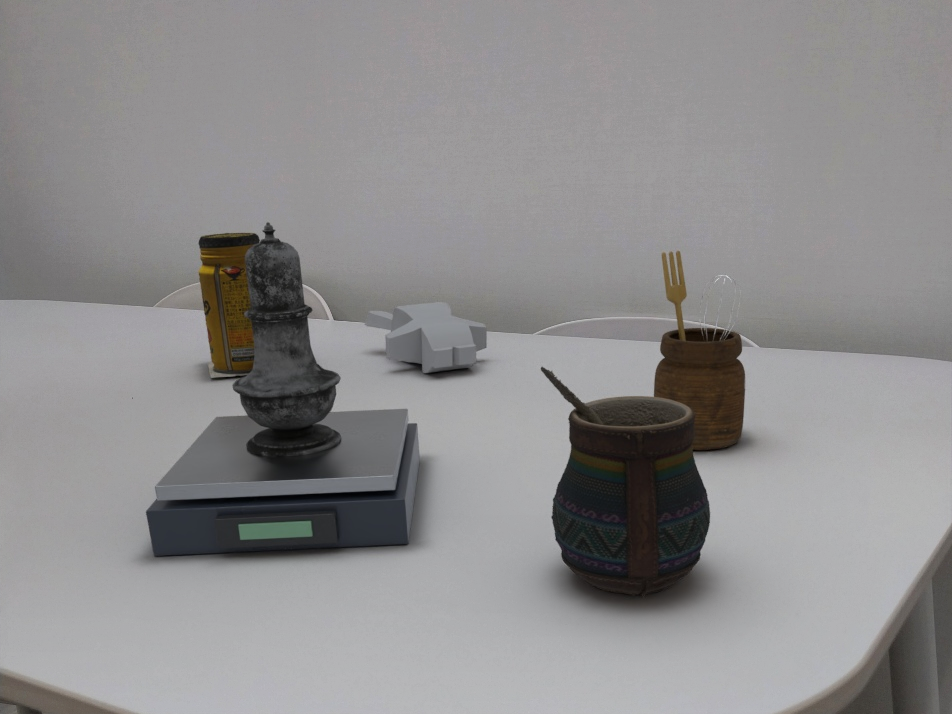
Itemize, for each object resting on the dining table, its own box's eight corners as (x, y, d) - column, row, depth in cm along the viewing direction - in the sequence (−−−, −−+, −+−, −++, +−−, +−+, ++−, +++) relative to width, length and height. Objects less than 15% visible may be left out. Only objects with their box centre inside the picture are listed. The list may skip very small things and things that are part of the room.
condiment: (207, 364, 92) (187, 233, 88) (297, 355, 95) (282, 228, 90) (211, 380, 86) (190, 240, 81) (307, 370, 88) (292, 234, 84)
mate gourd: (727, 605, 42) (740, 381, 39) (556, 616, 42) (552, 390, 38) (687, 541, 49) (694, 345, 45) (538, 550, 49) (533, 352, 45)
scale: (148, 562, 49) (140, 516, 48) (218, 468, 62) (212, 431, 61) (407, 550, 49) (404, 504, 48) (419, 459, 63) (417, 422, 62)
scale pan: (156, 501, 49) (154, 486, 49) (217, 428, 61) (216, 416, 61) (395, 490, 49) (394, 475, 49) (408, 420, 61) (407, 408, 61)
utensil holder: (694, 458, 61) (702, 264, 57) (632, 435, 66) (634, 255, 62) (761, 441, 64) (774, 255, 60) (696, 420, 69) (703, 247, 65)
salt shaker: (218, 448, 54) (185, 226, 50) (296, 422, 59) (271, 216, 54) (291, 464, 51) (263, 228, 47) (368, 436, 56) (348, 218, 51)
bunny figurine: (402, 336, 81) (352, 292, 93) (404, 394, 83) (355, 343, 95) (505, 324, 84) (445, 283, 96) (505, 380, 87) (445, 333, 99)
